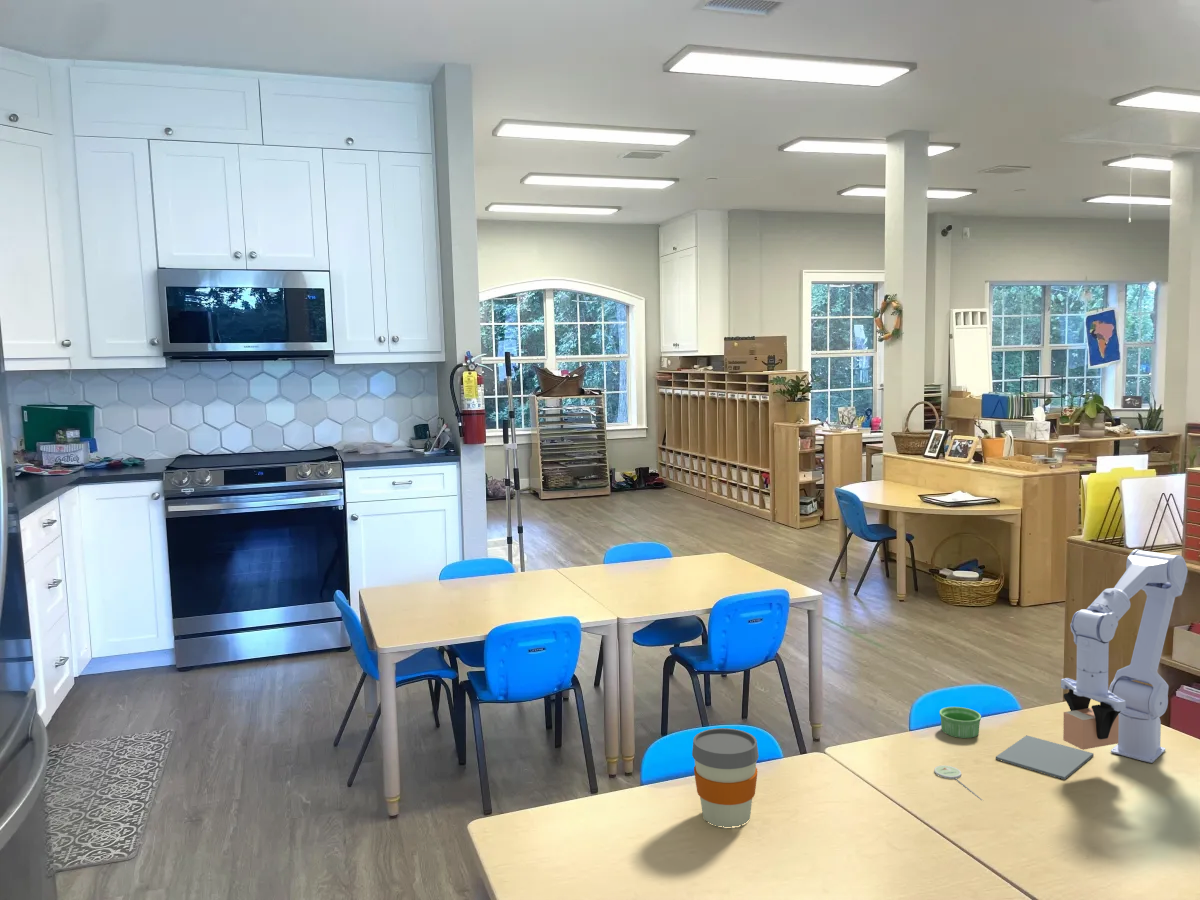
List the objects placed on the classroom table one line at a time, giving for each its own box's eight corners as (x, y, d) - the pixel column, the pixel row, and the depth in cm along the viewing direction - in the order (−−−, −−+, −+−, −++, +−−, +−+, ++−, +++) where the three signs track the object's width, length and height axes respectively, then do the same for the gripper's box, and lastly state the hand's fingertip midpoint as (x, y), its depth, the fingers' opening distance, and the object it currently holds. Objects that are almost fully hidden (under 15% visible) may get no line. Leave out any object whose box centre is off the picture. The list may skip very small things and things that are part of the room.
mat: (1026, 737, 198) (1026, 735, 198) (1093, 756, 188) (1093, 753, 187) (995, 759, 187) (995, 756, 187) (1064, 779, 177) (1064, 777, 177)
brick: (1098, 734, 183) (1098, 705, 182) (1118, 743, 178) (1118, 714, 178) (1063, 740, 181) (1063, 711, 180) (1082, 749, 176) (1083, 720, 175)
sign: (970, 800, 169) (929, 766, 184) (970, 805, 169) (929, 770, 184) (995, 798, 170) (952, 764, 184) (995, 802, 170) (952, 768, 184)
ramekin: (944, 739, 199) (944, 720, 199) (935, 723, 208) (935, 705, 207) (985, 740, 197) (985, 721, 197) (975, 725, 206) (975, 707, 206)
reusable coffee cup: (758, 836, 159) (757, 756, 158) (690, 830, 161) (688, 752, 160) (760, 803, 171) (759, 729, 170) (696, 799, 173) (695, 726, 172)
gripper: (1049, 660, 184) (1048, 722, 185) (1105, 682, 170) (1104, 749, 171) (1076, 656, 186) (1075, 718, 187) (1134, 678, 172) (1133, 744, 173)
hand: (1091, 733), depth 179 cm, fingers closed on brick, 5 cm apart
